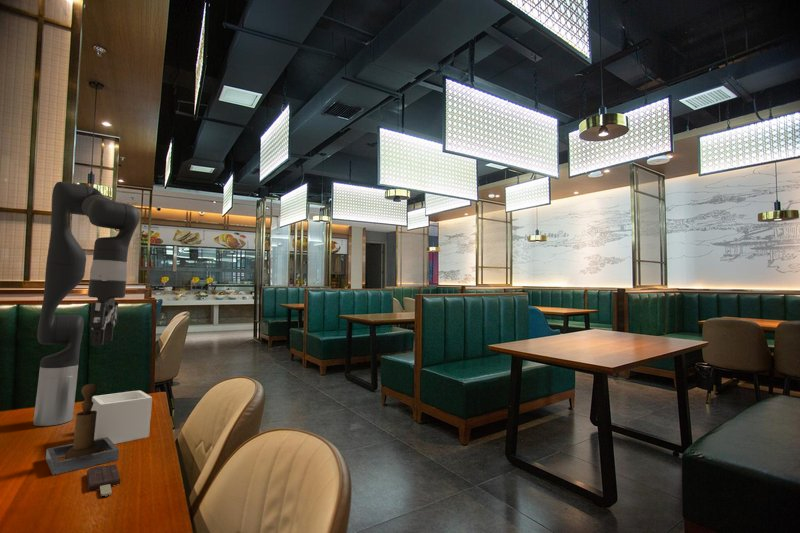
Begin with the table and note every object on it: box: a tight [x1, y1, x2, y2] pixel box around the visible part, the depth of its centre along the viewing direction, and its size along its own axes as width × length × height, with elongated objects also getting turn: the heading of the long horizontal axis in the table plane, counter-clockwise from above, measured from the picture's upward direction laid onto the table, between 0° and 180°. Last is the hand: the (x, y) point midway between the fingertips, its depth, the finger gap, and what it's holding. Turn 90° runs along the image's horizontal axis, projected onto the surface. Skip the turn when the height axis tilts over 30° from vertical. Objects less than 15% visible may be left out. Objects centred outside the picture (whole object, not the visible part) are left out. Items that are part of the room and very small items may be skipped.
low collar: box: [45, 437, 120, 476], centre depth 94 cm, size 12×12×2 cm
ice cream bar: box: [86, 464, 121, 497], centre depth 83 cm, size 5×2×15 cm
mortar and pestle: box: [64, 383, 101, 460], centre depth 95 cm, size 7×6×18 cm
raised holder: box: [91, 390, 153, 445], centre depth 110 cm, size 12×12×11 cm
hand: (102, 343), depth 97 cm, fingers open, 8 cm apart
